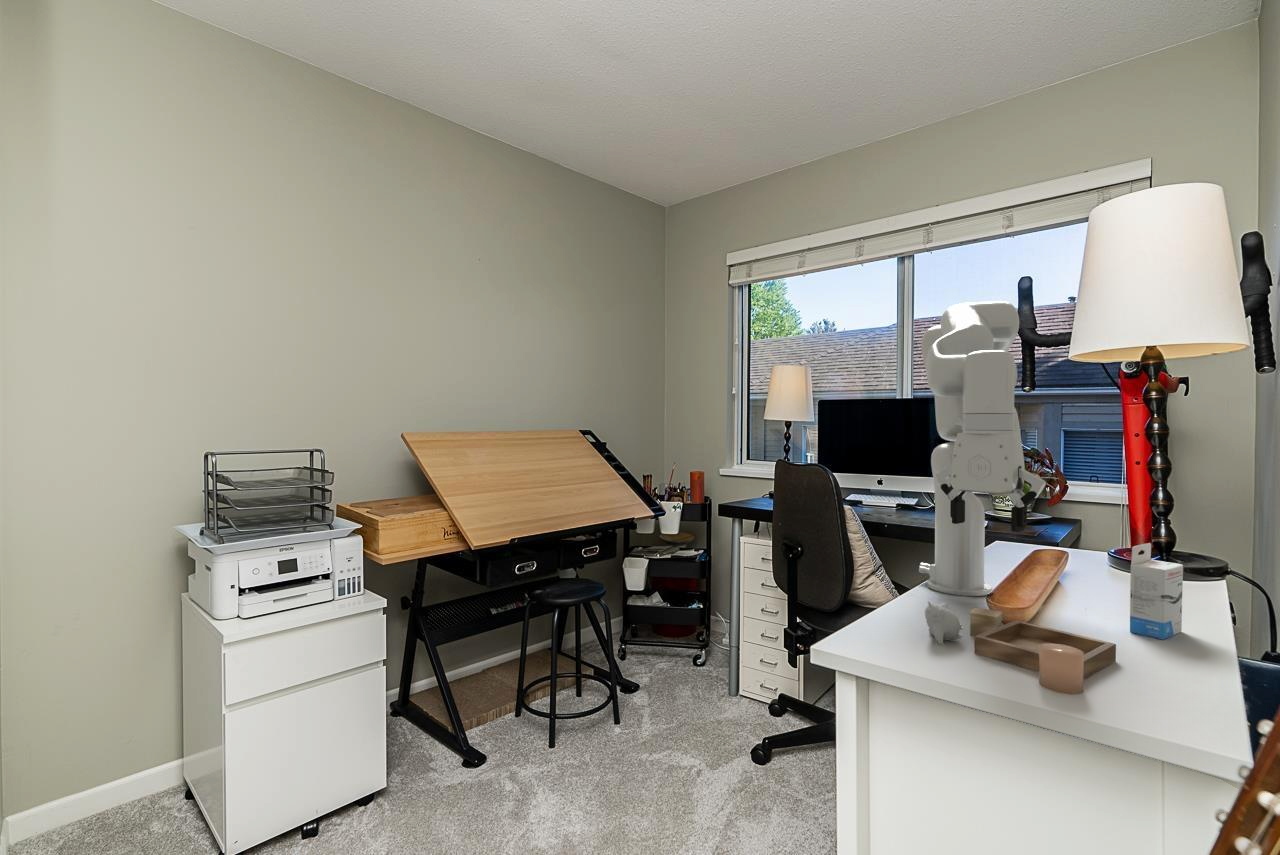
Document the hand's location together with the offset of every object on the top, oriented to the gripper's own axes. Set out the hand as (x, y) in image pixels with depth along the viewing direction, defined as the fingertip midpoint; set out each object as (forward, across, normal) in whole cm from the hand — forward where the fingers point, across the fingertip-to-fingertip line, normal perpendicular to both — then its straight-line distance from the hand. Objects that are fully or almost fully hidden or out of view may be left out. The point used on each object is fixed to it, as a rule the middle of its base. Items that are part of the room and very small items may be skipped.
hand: (987, 526), depth 106 cm
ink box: (+18, +16, +26) cm, 36 cm away
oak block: (+18, 0, 0) cm, 18 cm away
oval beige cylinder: (+18, +16, -13) cm, 28 cm away
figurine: (+18, -3, -9) cm, 21 cm away
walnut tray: (+18, +10, -3) cm, 21 cm away
